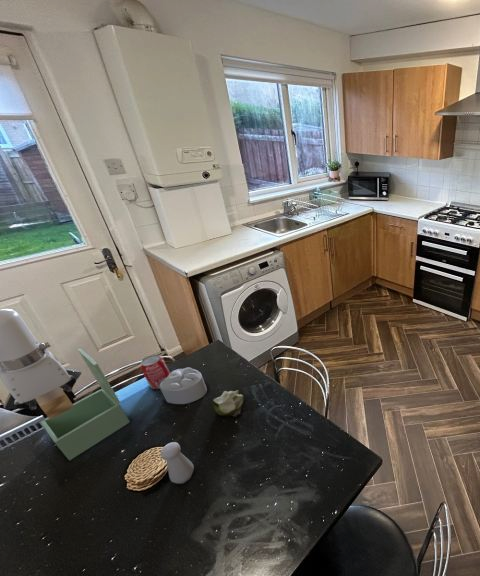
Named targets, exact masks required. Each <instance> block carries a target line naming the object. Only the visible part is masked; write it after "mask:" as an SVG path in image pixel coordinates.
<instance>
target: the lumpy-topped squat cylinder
mask: <svg viewBox="0 0 480 576" xmlns="http://www.w3.org/2000/svg"><path fill="white" fill-rule="evenodd" d="M159 390H160V391H161V393H162V394H163V398H164V399H165V401H166V403H168V404H174V405H186V404H190V403H193V402H195V401H198V400H199V399H201V398H203V397H204V396H205V395H206V394H207V392H208V388H207V385H206V383H205V380H204V377H203V374H202V373H201V372H200V371H199V370H197V369H194V368H192V367H185V368H177V369H175V370H174V369H173V370H172V371H170V374H169V375H168V377H167V378H166V379H165V380H164V381H162V382H161V383H160V389H159Z"/></svg>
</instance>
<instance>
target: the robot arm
mask: <svg viewBox="0 0 480 576" xmlns="http://www.w3.org/2000/svg"><path fill="white" fill-rule="evenodd" d="M51 346H52V345H50V343H49V342H48V341H47V342H45V343H44V342H43V343H41V342H39V341H38V340H37V338H36V337H35V336H34V334H33V332H32V331H31V329H30V328H29V327H28V325H27V323H26V322H25V321H24V319H23V318H22V316H21V315H20V314H19V312H18V311H16V310H14V309H9V308H3V309H0V380H1V381H2V384H3V385H4V386H5V388H6V389H7V391H8V392H9V393H8V395H7V397H6V398H5V401H4V404H3V409H4V410H17V409H18V410H31V411H33V412H34V414H35V415H37V417H41V416H42V417H43V418H44V419H46V418H48V416H47V415H46V414H45V412H44V411H43V410H42V408H41V407H40V406H39V404H38V402H37V401H36V398H37V397H39V396H41V395H43V394H45V393H47V392H49V391H52V390H54V389H56V388H58V387H60V388H62V390H63V391H64V392H65V394H66V395H67V397H68V398H69V400H70V401H71V402H72V404H74V403H76V402H77V401H75V399H76V398H77V396H76V394H75V393H74V392H73V388H74V386H75V384H76V382H77V380H78V379H79V378H80V376H81V375H82V371H80V370H79V369H72V368H67V367H64V366H63V364H62V363H61V362H60V360H59V359H58V358H57V357H56V356H55V354H53V353H52V351H50V350H49V349H48V348H50V347H51Z"/></svg>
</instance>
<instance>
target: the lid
mask: <svg viewBox="0 0 480 576" xmlns="http://www.w3.org/2000/svg"><path fill="white" fill-rule="evenodd" d="M77 351H78V353H79V354H80V356H81V358H82V359H83V361H84V362H85V364H86V366H87V368H88V369H89V371H90V372H91V374H92V375H93V377H94V379H95V380H96V382H97V384H98V385H99V387H100V388H101V389H103V390H104V391H105V392H106V393H107V394H108V395H109V396H110V397H111V398H112V399H113V400H114V401H115V402H116V403H117V404H121V401H120V399H119V398H118V396H117V394H116V392H115V391H114V389H113V387H112V386H111V384H110V383H109V381H108V379H107V377H106V376H105V374H104V372H103V370H102V369H101V367H100V366H99V364H98V363H97V361H95V360H94V359H93V358H92V357H91V356H89V354H88V353H87V352H85V351H84V350H83V349H82V348H78V349H77Z"/></svg>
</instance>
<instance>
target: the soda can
mask: <svg viewBox="0 0 480 576" xmlns="http://www.w3.org/2000/svg"><path fill="white" fill-rule="evenodd" d="M140 369H141V372H142V374H143V376H144V378H145V380H146V381H147V384H148V385H149V387H150V388H151V389H153V390H161V389H160V383H161V382H162V381H164V380H165V379H166V378H167V377H168V375H169V374H170V373H171V371H170V370H169V368H168V366H167V363H166V361H165V360H164V358H163V357H161V356H160V355H159V354H151V355H148V356H146V357H144V358H143V359H142V360H141V361H140Z"/></svg>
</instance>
